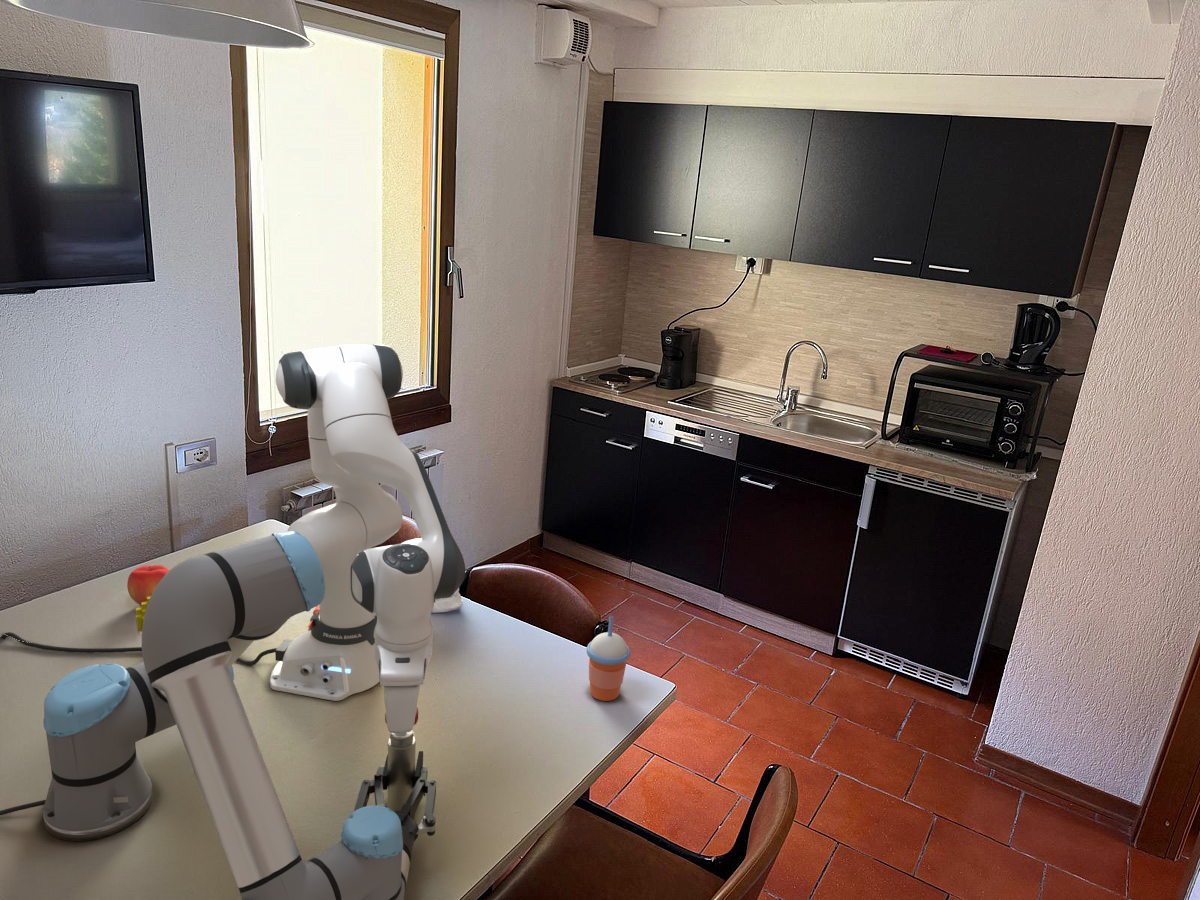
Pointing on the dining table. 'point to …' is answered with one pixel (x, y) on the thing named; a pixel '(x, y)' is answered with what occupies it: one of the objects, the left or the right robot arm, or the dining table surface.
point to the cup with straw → (607, 664)
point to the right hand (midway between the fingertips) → (401, 720)
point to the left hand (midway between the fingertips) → (405, 757)
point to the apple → (145, 581)
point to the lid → (415, 717)
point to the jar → (400, 769)
